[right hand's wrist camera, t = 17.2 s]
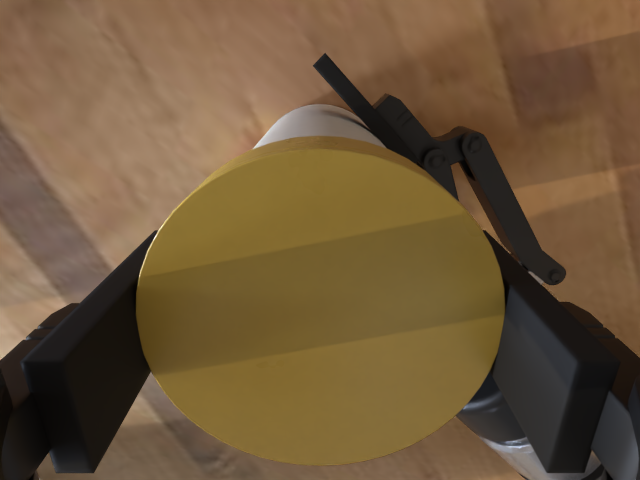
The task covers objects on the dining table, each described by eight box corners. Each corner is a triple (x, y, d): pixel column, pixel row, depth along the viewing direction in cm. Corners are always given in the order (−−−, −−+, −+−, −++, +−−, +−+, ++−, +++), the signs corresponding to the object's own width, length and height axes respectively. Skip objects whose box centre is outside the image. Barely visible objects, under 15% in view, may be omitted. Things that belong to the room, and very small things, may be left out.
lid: (450, 90, 10) (479, 94, 8) (495, 380, 13) (523, 429, 12) (108, 188, 11) (65, 212, 9) (228, 438, 14) (214, 492, 13)
